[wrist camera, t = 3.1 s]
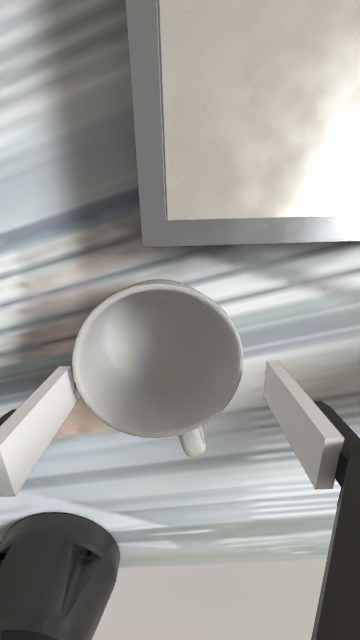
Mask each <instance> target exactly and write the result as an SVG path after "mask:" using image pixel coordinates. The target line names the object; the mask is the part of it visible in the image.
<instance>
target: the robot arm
mask: <svg viewBox="0 0 360 640" xmlns="http://www.w3.org/2000/svg"><path fill="white" fill-rule="evenodd" d="M263 396H264V398H265V400H266V402H267V404H268V405H269V407H270V409H271V411H272V413H273V414H274V416H275V418H276V420H277V421H278V423H279V425H280V427H281V429H282V430H283V432H284V434H285V436H286V438H287V439H288V441H289V443H290V445H291V447H292V448H293V450H294V452H295V454H296V456H297V457H298V459H299V461H300V463H301V465H302V466H303V468H304V470H305V472H306V474H307V475H308V477H309V479H310V481H311V483H312V484H313V486H314V488H315V489H333V485H334V481H335V479H336V480H337V482H338V483H339V485H340V486H341V491H340V495H339V499H338V503H337V511H336V516H335V521H334V526H333V531H332V536H331V541H330V547H329V552H328V557H327V562H326V567H325V573H324V577H323V582H322V587H321V593H320V598H319V603H318V608H317V613H316V618H315V624H314V628H313V633H312V638H311V640H360V438H359V437H358V436H357V435H356V434H355V433H354V432H353V431H352V430H351V429H350V428H349V426H348V425H347V424H346V423H345V422H343V420H342V419H341V418H340V417H339V416H337V414H336V412H335V411H334V410H333V409H332V408H331V407H330V406H328V405H326V404H325V403H323V402H322V401H312V400H311V398H310V397H309V396H308V395H307V394H306V393H305V391H304V390H303V389H302V388H301V387H300V386H299V384H298V383H297V382H296V381H295V380H294V379H293V377H292V376H291V375H290V374H289V373H288V372H287V370H286V369H285V368H284V367H283V366H282V364H281V363H280V362H279V361H267V363H266V374H265V385H264V395H263ZM76 402H77V397H76V392H75V387H74V381H73V376H72V371H71V366H59V367H58V368H57V369H56V370H55V371H54V372H53V373H52V374H51V375H50V376H49V377H48V378H47V379H46V380H45V381H44V382H43V383H42V384H41V386H40V387H39V388H38V389H37V390H36V391H35V392H34V393H33V394H32V395H31V396H30V397H29V398H28V399H27V400H26V401H25V402H24V403H23V404H22V405H21V406H20V407H19V408H18V409H13V410H11V411H10V412H8V413H6V414H5V415H3V416H2V417H1V418H0V497H11V496H16V495H17V493H18V491H19V490H20V488H21V487H22V485H23V484H24V482H25V481H26V479H27V478H28V476H29V475H30V473H31V471H32V470H33V468H34V467H35V465H36V464H37V462H38V461H39V459H40V458H41V456H42V454H43V453H44V451H45V450H46V448H47V447H48V445H49V444H50V442H51V441H52V439H53V438H54V436H55V434H56V433H57V431H58V430H59V428H60V427H61V425H62V424H63V422H64V421H65V419H66V417H67V416H68V414H69V413H70V411H71V410H72V408H73V407H74V405H75V404H76ZM119 561H120V551H119V548H118V545H117V543H116V541H115V540H114V538H113V537H112V536H111V535H110V534H109V532H107V531H106V530H105V529H104V528H102V527H101V526H99V525H98V524H96V523H94V522H92V521H90V520H88V519H85V518H82V517H79V516H75V515H70V514H62V513H47V514H40V515H35V516H31V517H28V518H26V519H23V520H21V521H20V522H18V523H16V524H15V525H14V526H12V527H11V528H10V529H9V530H8V531H7V533H6V534H5V536H4V538H3V539H2V541H1V543H0V640H92V638H93V635H94V633H95V631H96V628H97V626H98V624H99V621H100V619H101V616H102V614H103V612H104V609H105V607H106V605H107V602H108V600H109V598H110V595H111V593H112V591H113V588H114V585H115V582H116V577H117V572H118V567H119Z"/></svg>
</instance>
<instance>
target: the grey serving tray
mask: <svg viewBox="0 0 360 640" xmlns="http://www.w3.org/2000/svg"><path fill="white" fill-rule="evenodd" d="M125 2H126V16H127V30H128V45H129V59H130V74H131V88H132V102H133V117H134V131H135V145H136V160H137V174H138V188H139V203H140V217H141V231H142V246H143V247H169V246H204V245H240V244H276V243H312V242H348V241H360V0H125Z"/></svg>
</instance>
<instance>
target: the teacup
mask: <svg viewBox="0 0 360 640" xmlns="http://www.w3.org/2000/svg"><path fill="white" fill-rule="evenodd" d="M242 367H243V350H242V344H241V339H240V337H239V334H238V332H237V329H236V327H235V326H234V324H233V322H232V321H231V319H230V317H229V316H228V315H227V314H226V312H225V311H224V310H223V309H222V308H221V307H220V306H219V305H218V304H217V303H215V302H214V301H213V300H211V299H210V298H208V297H207V296H205V295H203V294H202V293H200V292H198V291H197V290H195V289H194V288H192V287H190V286H188V285H185V284H183V283H180V282H176V281H171V280H164V279H155V280H147V281H143V282H139V283H136V284H134V285H131V286H129V287H127V288H125V289H123V290H121V291H119V292H117V293H115V294H113V295H111V296H109V297H108V298H106V299H105V300H103V301H102V302H101V303H100V304H99V305H98V306H97V307H95V308H94V309H93V310H92V312H91V313H90V314H89V315H88V317H87V318H86V320H85V321H84V323H83V324H82V326H81V329H80V330H79V332H78V336H77V338H76V340H75V343H74V348H73V354H72V368H73V376H74V381H75V383H76V386H77V389H78V392H79V394H80V396H81V397H82V398H83V400H84V402H85V404H86V405H87V406H88V407H89V408H90V409H91V410H92V412H93V413H94V414H95V415H96V416H97V417H98V418H99V419H101V420H102V421H103V422H104V423H106V424H107V425H109V426H111V427H113V428H115V429H117V430H119V431H121V432H124V433H127V434H130V435H133V436H139V437H145V438H162V437H170V436H177V435H179V438H180V441H181V445H182V447H183V449H184V451H185V453H186V454H187V455H188V456H190V457H194V456H197V455H200V454H202V453H204V451H205V450H206V441H205V437H204V432H203V428H202V425H204V424H206V423H207V422H208V421H210V420H211V419H213V418H214V417H216V416H217V415H218V414H219V413H220V412H221V411H222V410H223V409H224V408H225V407H226V406H227V404H228V403H229V402H230V400H231V399H232V397H233V396H234V394H235V392H236V390H237V387H238V385H239V382H240V379H241V375H242Z"/></svg>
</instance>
